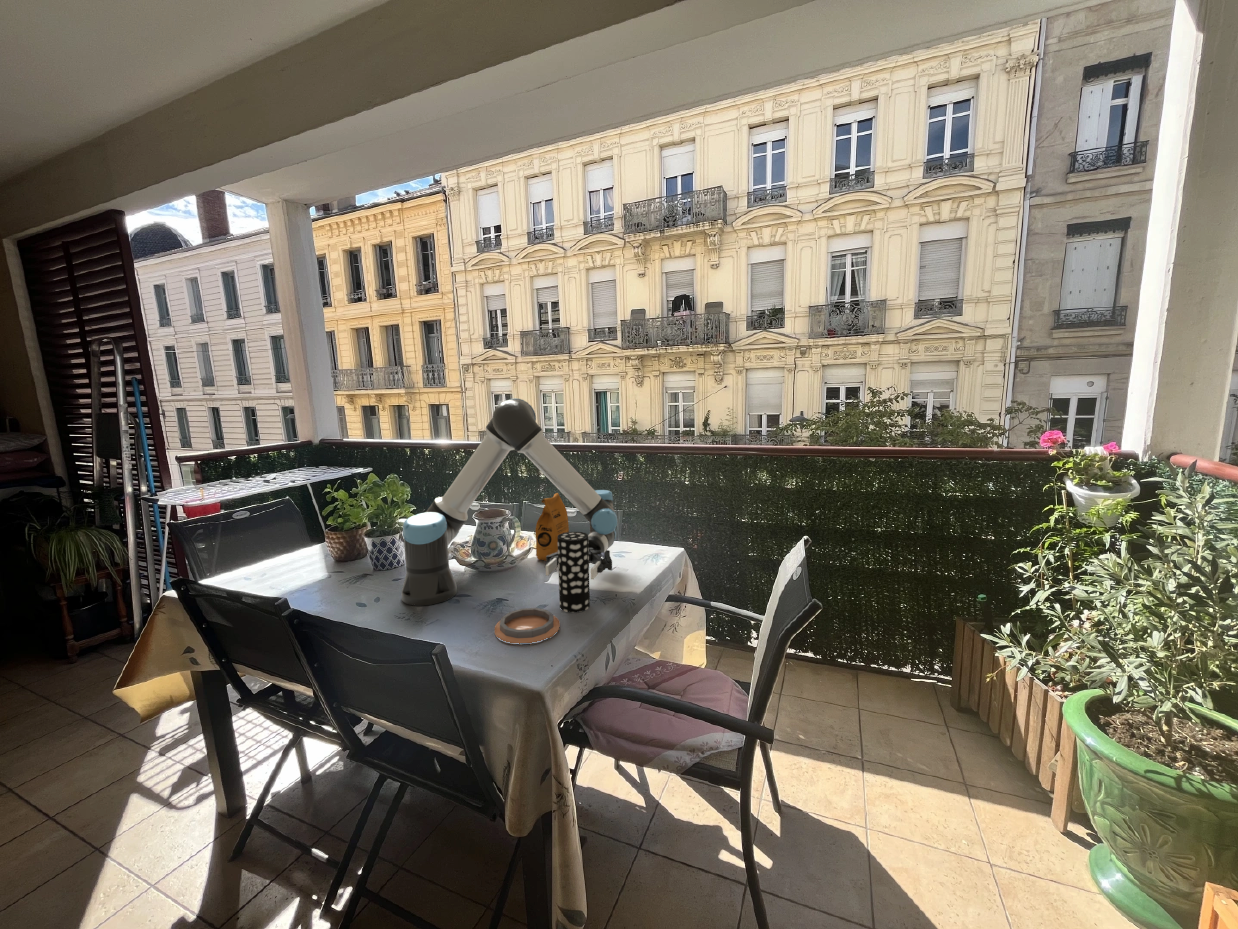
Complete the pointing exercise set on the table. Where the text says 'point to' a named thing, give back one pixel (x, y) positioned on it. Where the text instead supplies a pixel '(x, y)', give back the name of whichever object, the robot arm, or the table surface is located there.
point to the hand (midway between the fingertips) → (569, 572)
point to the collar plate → (527, 626)
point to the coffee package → (550, 526)
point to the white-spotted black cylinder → (573, 571)
